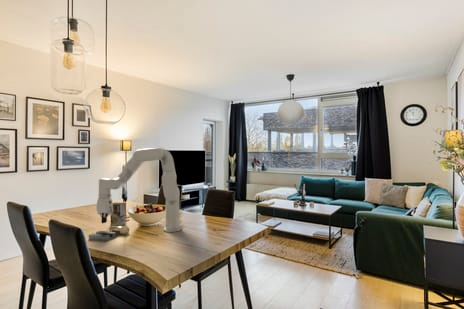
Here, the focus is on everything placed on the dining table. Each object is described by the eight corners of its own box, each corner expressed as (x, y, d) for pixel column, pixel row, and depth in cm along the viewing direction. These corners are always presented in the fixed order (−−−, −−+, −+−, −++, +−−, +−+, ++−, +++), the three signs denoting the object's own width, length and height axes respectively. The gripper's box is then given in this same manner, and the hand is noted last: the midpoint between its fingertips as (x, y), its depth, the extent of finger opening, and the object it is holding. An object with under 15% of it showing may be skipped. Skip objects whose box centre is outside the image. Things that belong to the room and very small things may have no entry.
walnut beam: (121, 231, 180) (121, 226, 180) (127, 231, 178) (127, 226, 178) (111, 235, 171) (111, 230, 171) (118, 235, 170) (118, 230, 170)
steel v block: (99, 235, 171) (99, 230, 171) (116, 236, 168) (116, 232, 168) (88, 239, 162) (88, 234, 162) (105, 241, 159) (105, 236, 159)
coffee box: (126, 223, 198) (126, 202, 198) (120, 226, 192) (120, 204, 192) (116, 222, 201) (116, 202, 200) (110, 225, 194) (110, 203, 194)
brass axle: (114, 231, 179) (114, 224, 178) (129, 232, 175) (128, 226, 175) (109, 234, 174) (108, 227, 173) (124, 236, 171) (124, 229, 170)
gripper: (117, 196, 179) (117, 222, 179) (99, 194, 183) (99, 220, 183) (109, 197, 172) (109, 225, 172) (91, 196, 176) (91, 223, 176)
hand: (104, 222), depth 178 cm, fingers closed
